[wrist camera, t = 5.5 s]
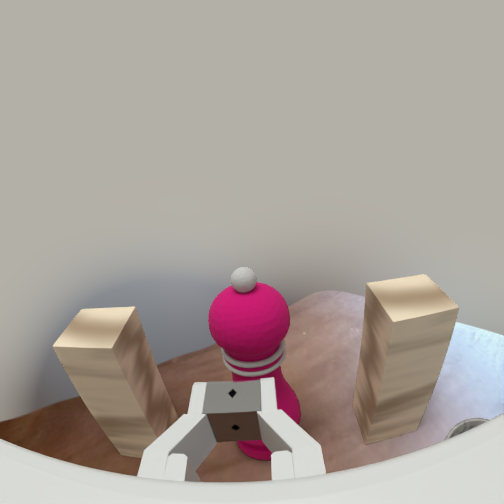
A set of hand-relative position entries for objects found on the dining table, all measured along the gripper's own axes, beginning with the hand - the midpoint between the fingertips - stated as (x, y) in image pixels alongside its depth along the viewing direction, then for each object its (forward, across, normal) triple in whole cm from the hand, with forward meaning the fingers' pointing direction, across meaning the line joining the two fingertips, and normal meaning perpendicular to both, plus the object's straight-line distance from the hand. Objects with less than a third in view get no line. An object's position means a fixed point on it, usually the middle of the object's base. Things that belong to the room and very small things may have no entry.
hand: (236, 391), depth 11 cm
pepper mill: (+11, 0, -20) cm, 23 cm away
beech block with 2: (+11, +13, -20) cm, 26 cm away
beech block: (+11, -13, -20) cm, 26 cm away
